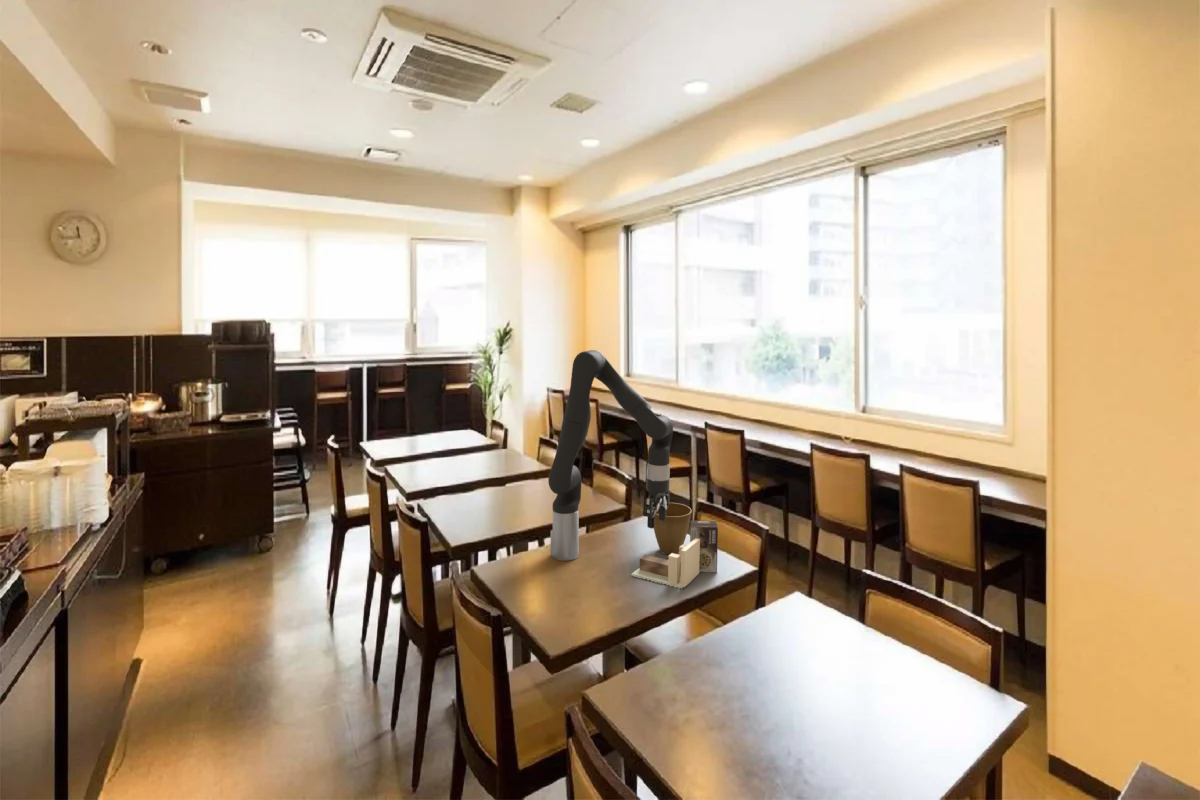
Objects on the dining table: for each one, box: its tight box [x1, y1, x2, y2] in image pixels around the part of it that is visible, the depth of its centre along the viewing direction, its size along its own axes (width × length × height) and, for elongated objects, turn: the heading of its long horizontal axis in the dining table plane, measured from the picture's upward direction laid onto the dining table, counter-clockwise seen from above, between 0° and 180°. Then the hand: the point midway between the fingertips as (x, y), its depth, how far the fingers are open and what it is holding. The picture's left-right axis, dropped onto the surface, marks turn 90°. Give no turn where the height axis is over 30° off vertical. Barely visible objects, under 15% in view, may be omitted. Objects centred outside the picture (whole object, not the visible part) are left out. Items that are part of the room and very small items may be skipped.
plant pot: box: [652, 502, 693, 555], centre depth 218 cm, size 15×15×16 cm
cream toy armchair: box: [631, 538, 700, 590], centre depth 198 cm, size 19×12×13 cm, turn 59°
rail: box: [639, 554, 681, 577], centre depth 199 cm, size 14×4×4 cm, turn 59°
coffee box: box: [689, 519, 719, 573], centre depth 203 cm, size 9×6×16 cm
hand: (656, 523), depth 198 cm, fingers open, 8 cm apart
